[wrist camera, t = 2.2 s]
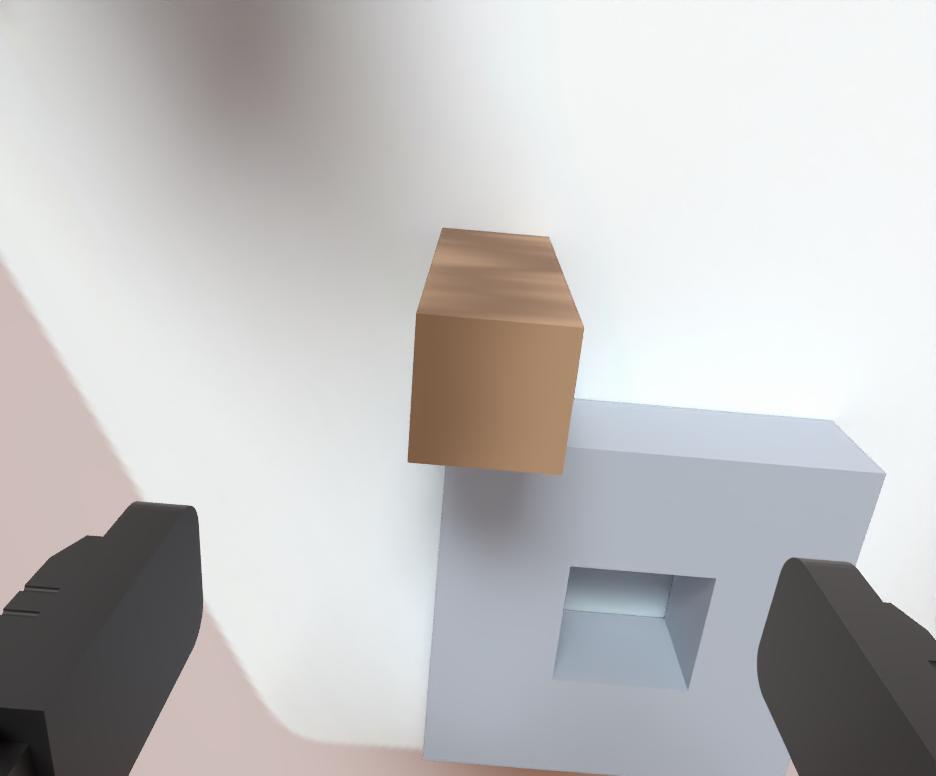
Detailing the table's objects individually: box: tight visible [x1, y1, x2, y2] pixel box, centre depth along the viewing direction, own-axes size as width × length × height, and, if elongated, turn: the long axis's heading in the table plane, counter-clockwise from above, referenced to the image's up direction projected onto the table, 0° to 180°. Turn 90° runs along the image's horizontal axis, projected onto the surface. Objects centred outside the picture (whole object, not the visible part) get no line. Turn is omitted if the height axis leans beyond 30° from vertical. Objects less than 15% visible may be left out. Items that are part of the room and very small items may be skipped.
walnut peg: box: [408, 228, 584, 475], centre depth 21 cm, size 4×4×10 cm
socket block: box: [422, 399, 886, 776], centre depth 28 cm, size 14×14×4 cm
